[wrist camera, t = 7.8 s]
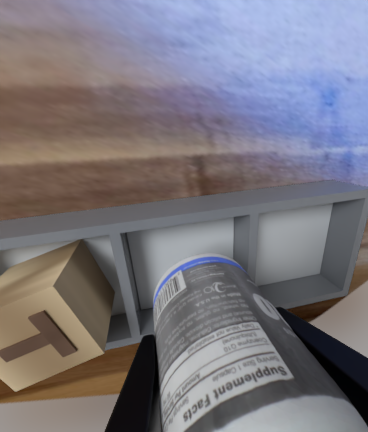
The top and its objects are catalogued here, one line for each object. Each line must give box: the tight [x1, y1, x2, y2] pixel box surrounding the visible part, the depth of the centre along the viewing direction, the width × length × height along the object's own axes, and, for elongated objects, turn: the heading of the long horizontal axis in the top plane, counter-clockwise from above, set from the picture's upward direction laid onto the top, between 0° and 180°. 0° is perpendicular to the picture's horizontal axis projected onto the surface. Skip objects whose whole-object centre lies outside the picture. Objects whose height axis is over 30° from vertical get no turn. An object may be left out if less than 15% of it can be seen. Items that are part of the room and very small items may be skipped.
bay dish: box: [0, 180, 368, 350], centre depth 12 cm, size 22×8×3 cm, turn 93°
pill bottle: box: [153, 253, 368, 432], centre depth 6 cm, size 5×5×8 cm
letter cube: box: [0, 239, 115, 392], centre depth 10 cm, size 4×4×4 cm
